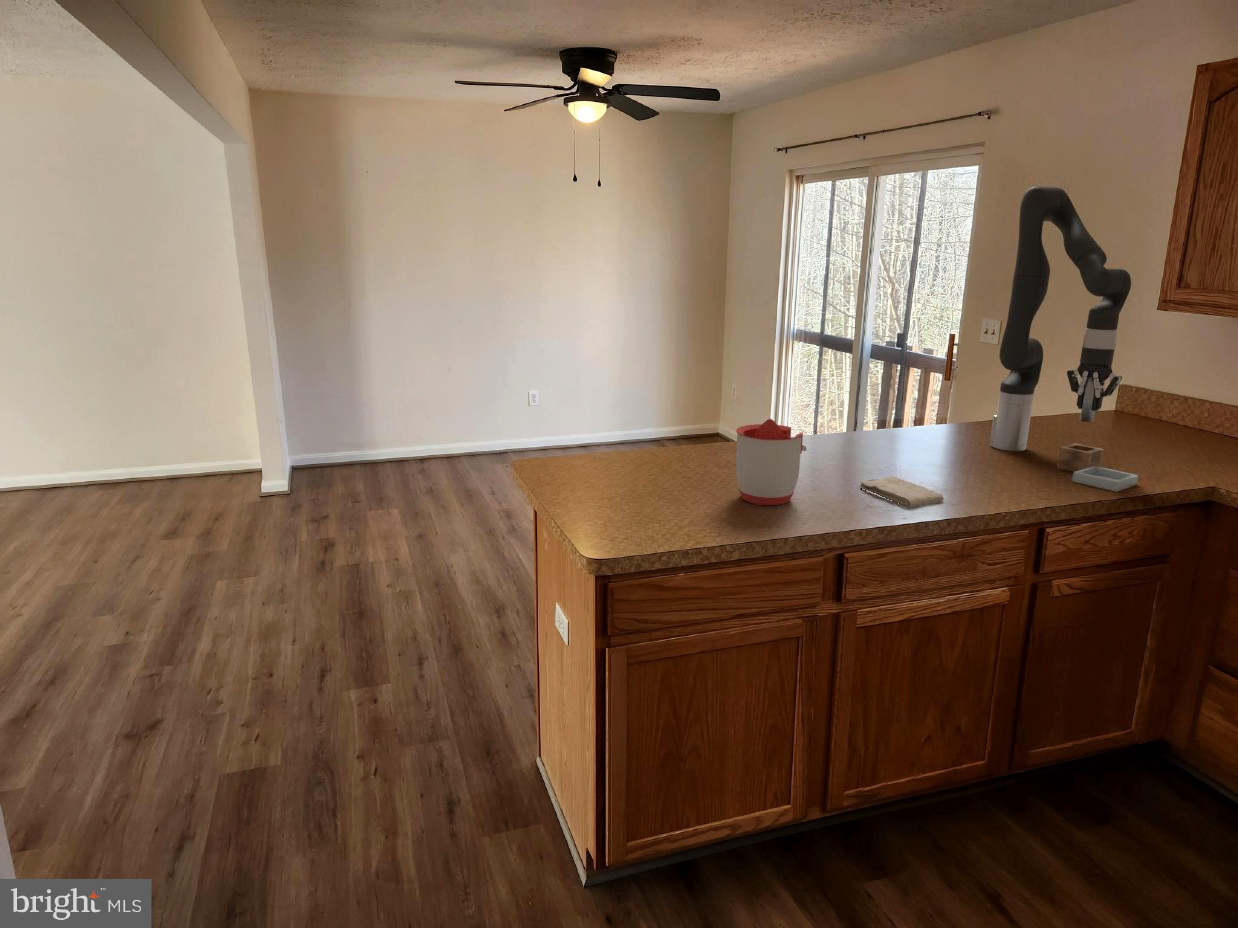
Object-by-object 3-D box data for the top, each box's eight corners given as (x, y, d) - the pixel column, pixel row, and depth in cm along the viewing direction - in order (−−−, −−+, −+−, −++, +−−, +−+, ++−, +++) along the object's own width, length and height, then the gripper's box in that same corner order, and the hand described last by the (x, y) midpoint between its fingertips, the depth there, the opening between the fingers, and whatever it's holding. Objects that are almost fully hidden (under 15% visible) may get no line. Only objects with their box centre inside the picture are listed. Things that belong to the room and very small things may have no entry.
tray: (1072, 481, 213) (1073, 472, 212) (1092, 474, 219) (1094, 465, 218) (1116, 491, 204) (1118, 482, 203) (1136, 484, 210) (1138, 475, 209)
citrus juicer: (817, 505, 192) (823, 423, 187) (750, 512, 187) (754, 427, 182) (785, 486, 206) (790, 410, 201) (722, 492, 202) (726, 413, 196)
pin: (1077, 420, 221) (1084, 376, 218) (1083, 419, 223) (1090, 375, 219) (1089, 422, 218) (1096, 378, 215) (1095, 421, 220) (1102, 377, 217)
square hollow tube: (1056, 468, 225) (1059, 447, 223) (1071, 463, 229) (1074, 443, 228) (1086, 474, 219) (1089, 453, 217) (1100, 470, 223) (1104, 449, 221)
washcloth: (890, 484, 211) (891, 473, 210) (945, 503, 195) (947, 491, 195) (855, 490, 206) (856, 478, 205) (909, 510, 190) (911, 498, 189)
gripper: (1064, 344, 218) (1055, 407, 223) (1120, 350, 207) (1108, 416, 212) (1078, 342, 223) (1069, 404, 227) (1133, 348, 212) (1122, 412, 216)
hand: (1088, 409), depth 220 cm, fingers closed on pin, 3 cm apart
